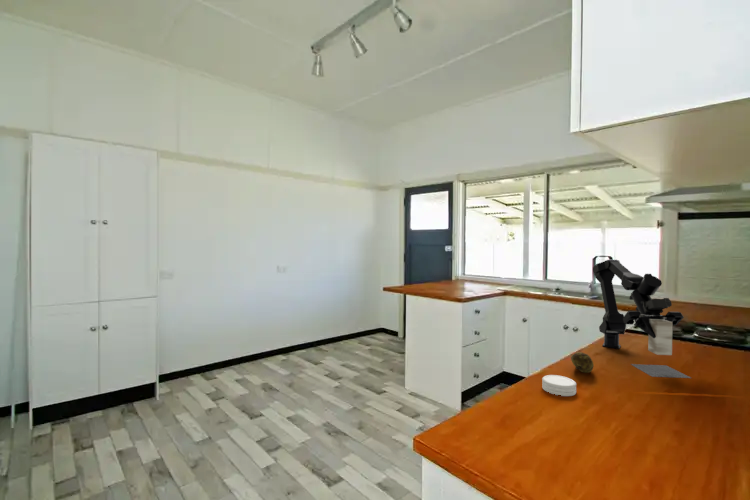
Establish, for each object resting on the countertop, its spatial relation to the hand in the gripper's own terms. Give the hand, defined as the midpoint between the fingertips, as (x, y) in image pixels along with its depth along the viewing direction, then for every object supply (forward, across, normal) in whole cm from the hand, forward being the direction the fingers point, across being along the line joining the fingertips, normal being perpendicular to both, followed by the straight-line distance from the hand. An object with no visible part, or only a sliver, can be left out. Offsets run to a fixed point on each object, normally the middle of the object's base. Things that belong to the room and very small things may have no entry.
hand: (662, 337), depth 132 cm
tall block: (+3, 0, +5) cm, 6 cm away
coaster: (+23, -43, -4) cm, 49 cm away
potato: (+11, -28, +8) cm, 31 cm away
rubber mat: (+8, 0, +10) cm, 13 cm away
